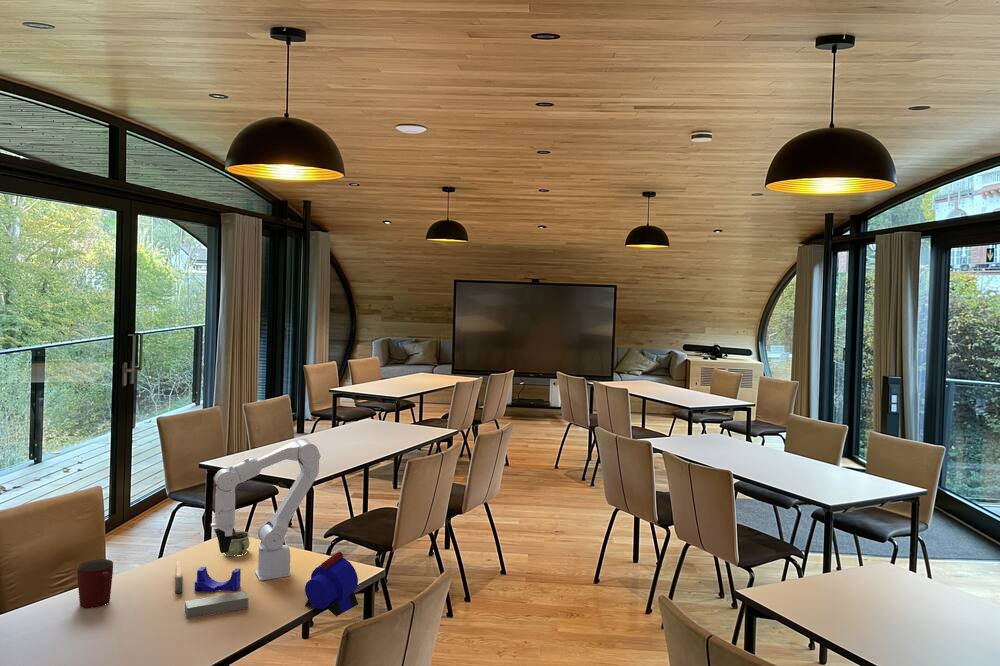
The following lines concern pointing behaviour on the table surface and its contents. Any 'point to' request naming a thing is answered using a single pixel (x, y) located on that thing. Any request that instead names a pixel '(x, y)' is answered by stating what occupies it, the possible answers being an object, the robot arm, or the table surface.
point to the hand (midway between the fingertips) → (224, 552)
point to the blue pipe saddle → (210, 585)
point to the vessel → (239, 543)
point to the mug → (94, 582)
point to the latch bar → (178, 578)
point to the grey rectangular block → (216, 604)
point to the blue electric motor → (333, 585)
